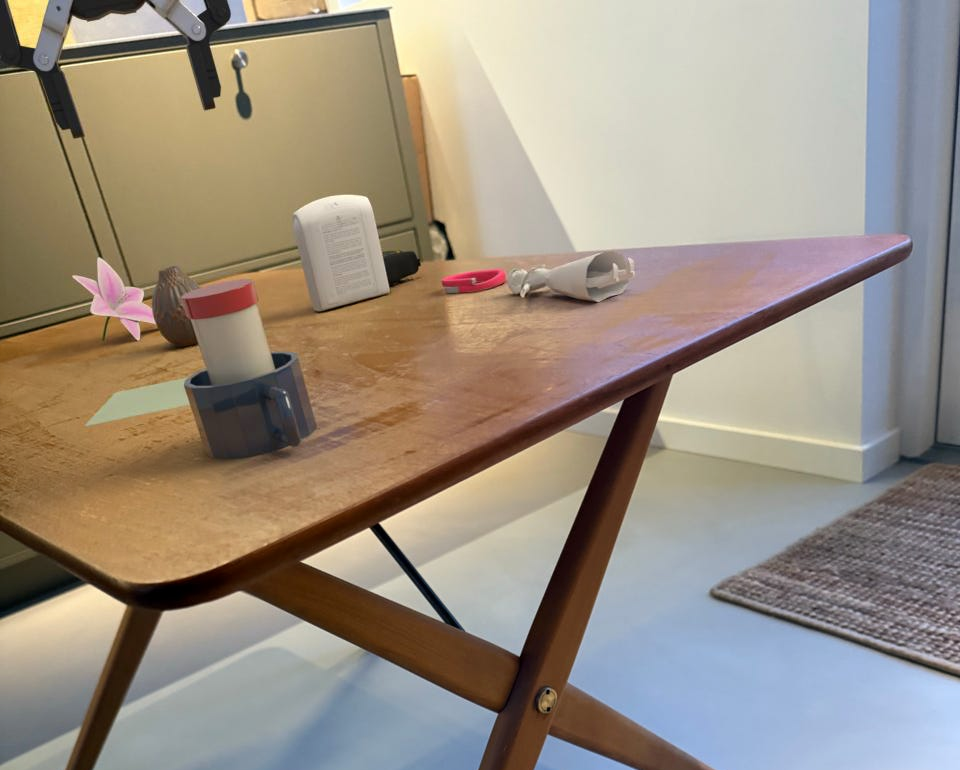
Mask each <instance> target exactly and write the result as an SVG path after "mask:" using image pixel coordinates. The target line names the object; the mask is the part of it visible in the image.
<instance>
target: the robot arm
mask: <svg viewBox="0 0 960 770" xmlns="http://www.w3.org/2000/svg"><path fill="white" fill-rule="evenodd" d="M228 1H229V0H203V4H204V6H205V7H204V8H205V10H203V11H202V12H201V13H199V14H198V15H196V14H194V13H193V12H192V11H191V10H190V9H189V8H188V7H187V6H185V4H184V3H183V2H182V1H180V0H48V2H47V4H46V9H45V12H44V16H43V19H42V23H41V28H40V31H39V35H38V38H37V42H36V45H35V47H30V46H26V45H21V42H20V38H19V34H18V31H17V28H16V24H15V20H14V17H13V14H12V10H11V7H10V4H9V1H8V0H0V60H1V61H2V63H4V65H7V66H9V67H11V68H13V69H20V70H27V71H31V72H34V73H36V74H37V75H38V77H39V79H40V80H41V83H42V86H43V89H44V91H45V95H46V97H47V100H48V103H49V106H50V109H51V111H52V114H53V118H54V121H55V123H56V124H57V125H58V127H59V128H60V129H61V130H62V131H67V130H70V132H71V136H72V139H74V140H75V139H80V138H84V137H86V134H85V131H84V128H83V124H82V122H81V119H80V116H79V112H78V110H77V106H76V104H75V102H74V101H75V100H74V98H73V95H72V92H71V90H70V86H69V84H68V80H67V77H66V73H65V72H64V71H63V70H61V69H60V66H59V61H60V56H61V54H62V51H63V48H64V44H65V41H66V39H67V36H68V32H69V30H70V26H71V23H72V20H73V17H74V18H76V19H79V20H81V21H86V22H87V23H90V22H93V21H94V22H95V21H100V20H102V19H104V18H106V17H107V16H109V15H111V14H113V15H123V16H125V15H126V16H127V15H130V14H135V13H137V11H139V10H140V9H142V7H144V5H145V4H146V5H148V6H149V7H150V8H151V9H152V10H153V11H154V12H155V13H157V15H159V17H161V18H162V19H163V20H165V21H166V22H167V23H168V24H169V25H171V26H172V27H173V29H175V30H176V31H177V32H178V33H179V34H180V35H181V36H183V37H184V38H185V39H186V42H187V45H186V46H185V49H186V53H187V57H188V61H189V63H190V67H191V71H192V74H193V78H194V81H195V86H196V88H197V92H198V95H199V98H200V99H199V100H200V103H201V105H202V110H203V111H210V110H214V109H216V108H217V107H216V102H215V99H216V98H217V99H218V98H220V97H221V93H222V85H221V81H220V78H219V74H218V71H217V66H216V63H215V59H214V56H213V52H212V48H211V45H210V40H211V36H212V35H213V34H214V33H216V32H217V31H219V30H220V29H221V28H223V27H225V26H226V25H227V24H228V23H229V22H230V20H231V17H232V12H231V11H232V10H231V8H230V5H229V2H228Z"/></svg>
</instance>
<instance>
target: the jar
mask: <svg viewBox="0 0 960 770" xmlns="http://www.w3.org/2000/svg"><path fill="white" fill-rule="evenodd" d="M181 300H182V303H183V306H184V310H185V313H186V316H187V318H188V319H191V322H192V326H193V329H194V332H195V335H196V338H197V341H198V343H197V345H198V347H199V352H200V354H201V358H202V360H203V363H204V367H205V369H206V370H207V373H208V376H209V379H210V382H211V386H213V385H220V384H227V383H233V382H237V381H241V380H245V379H249V378H253V377H256V376H259V375H262V374H265V373H268V372H271V371H273V370H275V366H274V362H273V359H272V355H271V352H272V351H271V349H270V345H269V341H268V338H267V334H266V330H265V327H264V324H263V320H262V317H261V313H260V309H259V305H258V303H259V301H260V300H259V296H258V292H257V289H256V286H255V282H254V280H253V279H251V278H242V279H232V280H227V281H221V282H217V283H214V284H210V285H206V286H202V287H201V288H199V289H196V290H193V291H190V292H188V293H186V294H184V295H182V296H181Z"/></svg>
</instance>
